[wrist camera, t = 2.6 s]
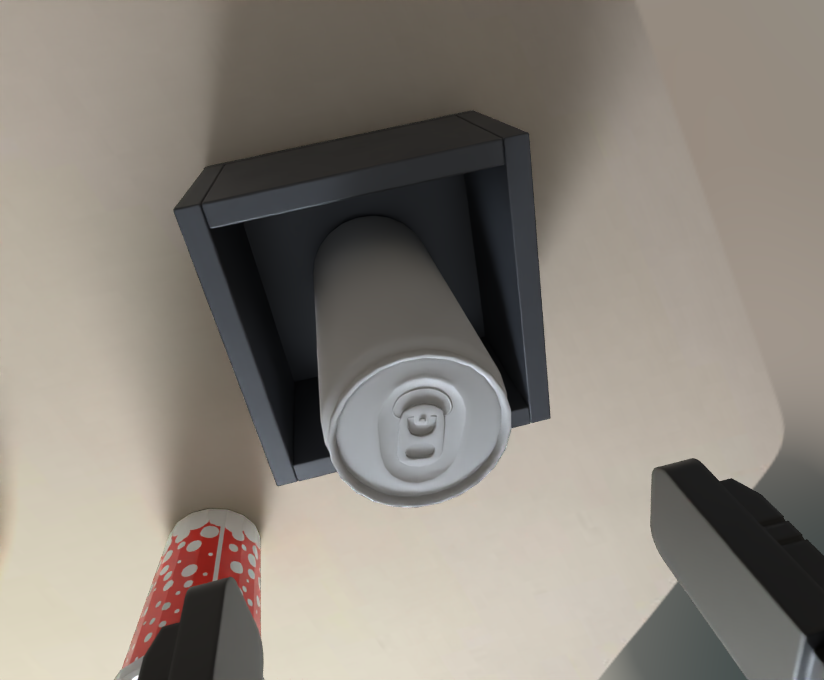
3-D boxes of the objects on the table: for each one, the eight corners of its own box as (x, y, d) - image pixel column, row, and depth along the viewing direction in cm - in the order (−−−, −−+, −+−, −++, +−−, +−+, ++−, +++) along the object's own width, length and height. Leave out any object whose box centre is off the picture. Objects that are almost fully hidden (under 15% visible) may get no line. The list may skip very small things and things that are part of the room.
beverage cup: (139, 574, 31) (33, 931, 18) (168, 485, 28) (68, 823, 16) (255, 591, 33) (229, 924, 20) (290, 509, 30) (284, 828, 18)
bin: (473, 109, 23) (529, 132, 17) (500, 342, 28) (550, 418, 22) (204, 166, 22) (171, 209, 17) (281, 395, 27) (276, 487, 22)
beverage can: (430, 212, 24) (530, 344, 14) (423, 318, 26) (505, 504, 16) (310, 211, 23) (319, 351, 13) (314, 321, 25) (323, 519, 15)
